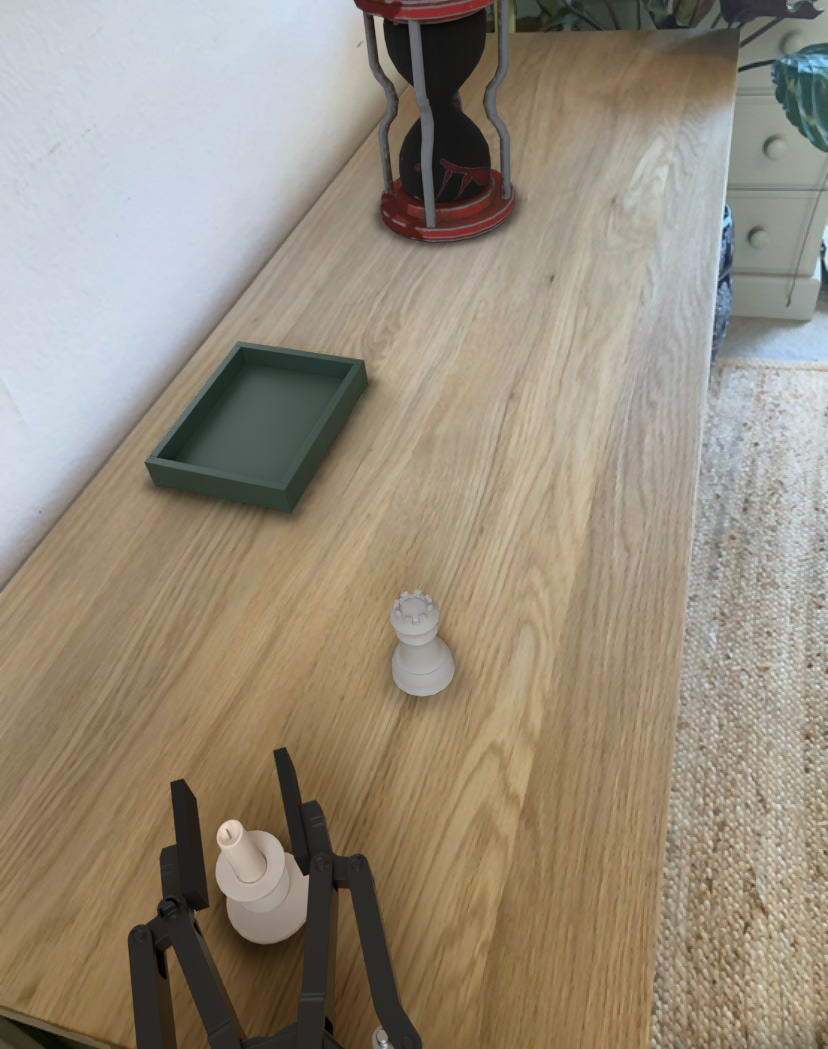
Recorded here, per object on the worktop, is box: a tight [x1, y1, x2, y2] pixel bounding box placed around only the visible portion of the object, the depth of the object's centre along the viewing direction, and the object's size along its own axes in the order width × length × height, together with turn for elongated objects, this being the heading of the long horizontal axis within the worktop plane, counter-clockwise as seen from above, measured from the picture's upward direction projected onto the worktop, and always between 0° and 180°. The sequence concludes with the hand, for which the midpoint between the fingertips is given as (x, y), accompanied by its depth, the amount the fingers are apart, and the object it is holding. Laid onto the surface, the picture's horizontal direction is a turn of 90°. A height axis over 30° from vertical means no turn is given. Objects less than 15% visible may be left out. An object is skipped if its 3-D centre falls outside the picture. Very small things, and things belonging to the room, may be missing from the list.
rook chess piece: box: [389, 589, 456, 697], centre depth 57 cm, size 4×4×8 cm
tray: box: [144, 340, 369, 514], centre depth 78 cm, size 18×14×3 cm
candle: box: [215, 819, 309, 945], centre depth 47 cm, size 5×5×10 cm
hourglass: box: [353, 0, 515, 243], centre depth 94 cm, size 16×16×25 cm
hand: (234, 775), depth 50 cm, fingers open, 5 cm apart
